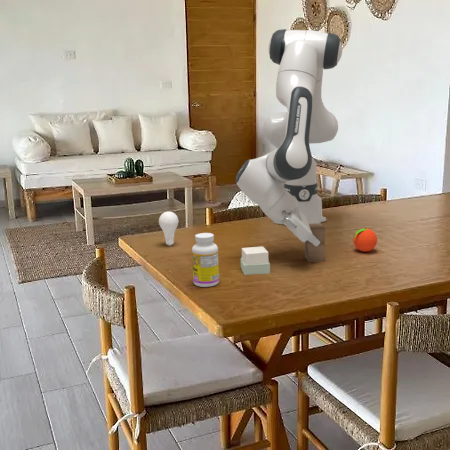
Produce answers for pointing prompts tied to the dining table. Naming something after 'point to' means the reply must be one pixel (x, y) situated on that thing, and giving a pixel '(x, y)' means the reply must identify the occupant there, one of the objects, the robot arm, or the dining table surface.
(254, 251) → the tower cap
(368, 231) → the clementine
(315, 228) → the walnut post
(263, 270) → the tower base
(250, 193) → the robot arm
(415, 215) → the dining table surface
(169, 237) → the lightbulb
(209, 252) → the supplement bottle
